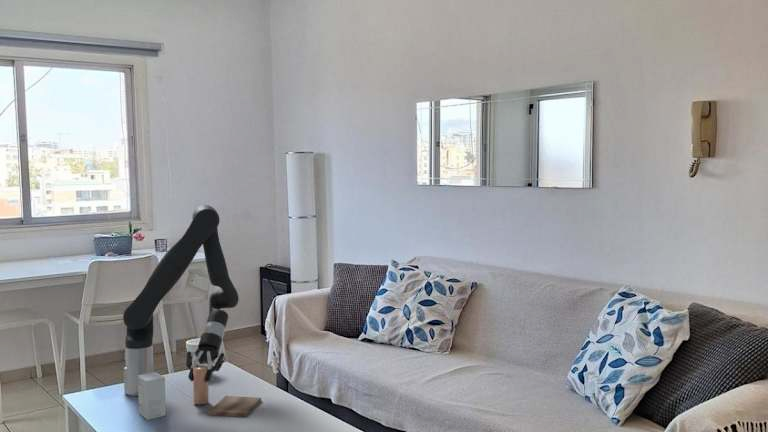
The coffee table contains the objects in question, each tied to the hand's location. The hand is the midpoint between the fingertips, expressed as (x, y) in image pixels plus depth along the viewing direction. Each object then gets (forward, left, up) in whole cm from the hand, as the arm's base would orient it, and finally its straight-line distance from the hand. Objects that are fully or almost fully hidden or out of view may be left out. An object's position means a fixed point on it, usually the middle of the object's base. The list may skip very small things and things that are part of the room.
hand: (198, 380), depth 229 cm
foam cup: (-15, +34, -9) cm, 38 cm away
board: (+13, 0, -9) cm, 16 cm away
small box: (-12, -10, -9) cm, 18 cm away
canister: (0, +2, -8) cm, 8 cm away
